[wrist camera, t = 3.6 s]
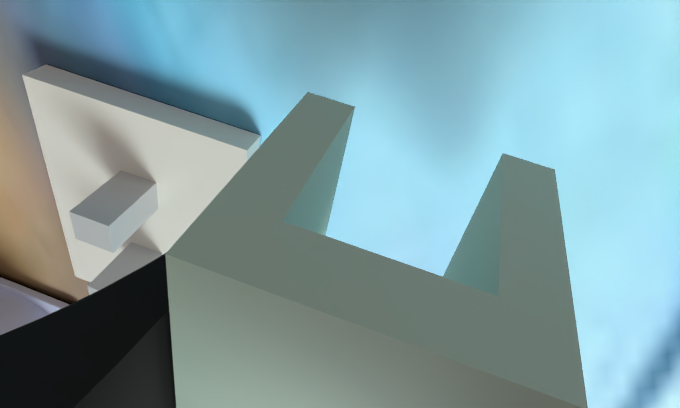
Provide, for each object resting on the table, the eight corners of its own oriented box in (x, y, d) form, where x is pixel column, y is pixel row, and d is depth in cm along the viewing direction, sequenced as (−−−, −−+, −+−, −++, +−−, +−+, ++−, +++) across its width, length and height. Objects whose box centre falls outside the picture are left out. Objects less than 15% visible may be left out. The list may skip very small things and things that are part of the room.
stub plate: (244, 320, 21) (205, 387, 19) (90, 261, 22) (32, 317, 20) (260, 135, 15) (205, 195, 12) (46, 64, 16) (-49, 106, 13)
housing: (449, 348, 13) (422, 565, 9) (278, 286, 13) (180, 463, 9) (554, 169, 9) (588, 410, 5) (307, 92, 9) (165, 253, 6)
